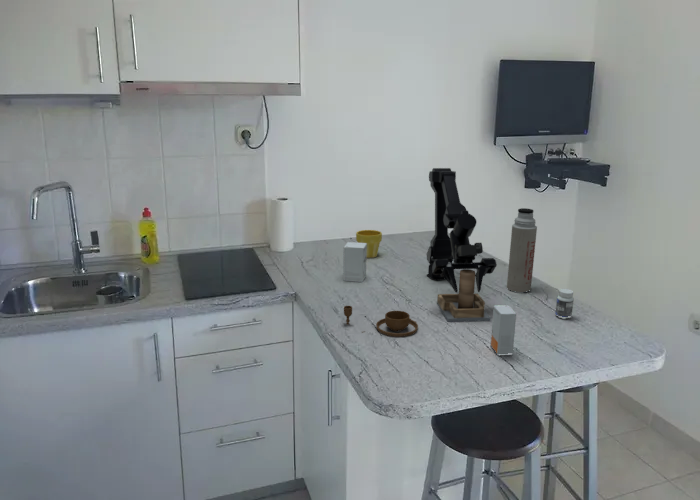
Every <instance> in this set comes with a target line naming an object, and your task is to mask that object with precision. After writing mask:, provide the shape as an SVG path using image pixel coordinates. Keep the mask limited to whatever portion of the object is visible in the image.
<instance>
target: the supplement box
mask: <svg viewBox="0 0 700 500" xmlns="http://www.w3.org/2000/svg"><path fill="white" fill-rule="evenodd" d="M342 259H343V263H342V265H343V273H342V274H343V275H342V276H343V277H342V278H343V281H344V282H354V283H355V282H356V283H357V282H358V283H363V282H364V281H365V278H366V277H367V259H368V258H367V243H358V242H357V241H356V242H355V241H354V242H351V241H347V242H346V243H345V245H344V246H343V258H342Z"/></svg>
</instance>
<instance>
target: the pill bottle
mask: <svg viewBox="0 0 700 500" xmlns="http://www.w3.org/2000/svg"><path fill="white" fill-rule="evenodd" d="M573 296H574V291H573V290H572V289H568V288H561V289H559V290H558V295H557V298H556V306H555V312H554V315H555V314H556V315H558V316H562V317H568V316H571V315H573V309H574V308H573V307H574V297H573Z"/></svg>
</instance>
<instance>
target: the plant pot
mask: <svg viewBox="0 0 700 500" xmlns="http://www.w3.org/2000/svg"><path fill="white" fill-rule="evenodd" d="M355 239H356V240H355V241H356V243H367V259H374V258H376V257H377V256H378V252H379V248H380V244H381V242H382V239H383V233H382V231H379V230H375V229H362V230H358V231H356V232H355Z"/></svg>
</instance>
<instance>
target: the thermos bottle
mask: <svg viewBox="0 0 700 500" xmlns="http://www.w3.org/2000/svg"><path fill="white" fill-rule="evenodd" d="M517 212H518V213H517V217H515V218H514V221H513V222H514V223H513V224H512V225H511V233H510V234H511V237H510V246H509V259H508V270H507V278H506V279H507V281H506V289H507V288H508V289H509V290H508V289H507V290H508V291H510V290H511V291H510V292H512V291H516V292H515V293H517V292H526V291H529V290H532V282H533V281H532V280H533V271H534V262H535V253H536V251H535V250H536V241H537V233H538V232H537V230H538V226H536V219H534V209H531V208H523V207H522V208H518V210H517Z"/></svg>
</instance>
